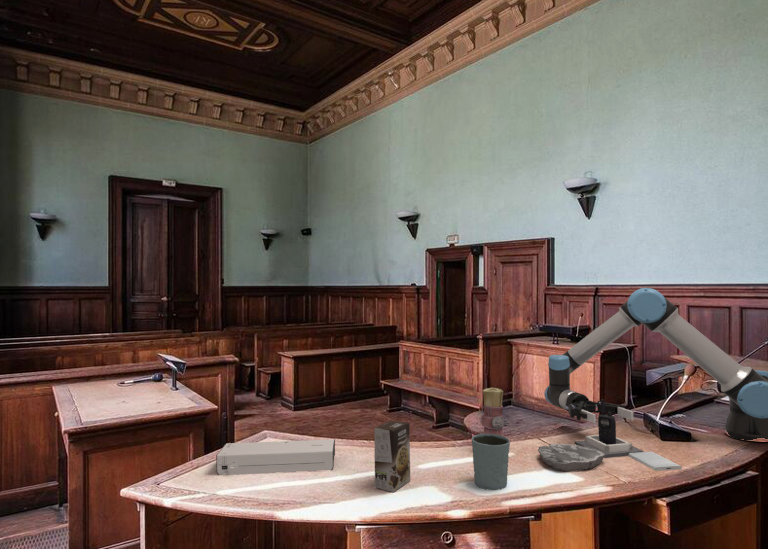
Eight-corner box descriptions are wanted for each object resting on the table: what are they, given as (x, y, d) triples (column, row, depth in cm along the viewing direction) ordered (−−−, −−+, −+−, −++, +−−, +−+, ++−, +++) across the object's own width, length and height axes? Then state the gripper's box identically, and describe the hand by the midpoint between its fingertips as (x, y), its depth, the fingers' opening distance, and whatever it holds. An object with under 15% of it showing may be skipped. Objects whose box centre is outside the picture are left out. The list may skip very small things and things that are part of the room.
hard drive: (628, 452, 151) (655, 466, 139) (652, 451, 152) (681, 465, 140) (628, 458, 151) (655, 472, 139) (652, 456, 152) (681, 470, 140)
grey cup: (470, 476, 137) (469, 433, 137) (506, 476, 137) (505, 433, 137) (475, 491, 127) (474, 445, 127) (514, 491, 126) (513, 444, 127)
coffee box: (394, 493, 127) (393, 430, 127) (374, 488, 130) (373, 427, 131) (411, 481, 134) (410, 422, 135) (391, 476, 138) (390, 419, 138)
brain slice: (568, 449, 159) (568, 440, 159) (613, 465, 144) (613, 455, 144) (522, 459, 150) (522, 450, 151) (565, 478, 135) (565, 467, 135)
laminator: (335, 458, 155) (334, 439, 155) (333, 473, 142) (333, 451, 143) (226, 462, 153) (226, 443, 153) (215, 478, 140) (215, 456, 140)
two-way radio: (596, 445, 159) (595, 399, 159) (603, 442, 162) (601, 396, 162) (614, 449, 155) (612, 401, 155) (620, 446, 158) (618, 399, 158)
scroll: (480, 455, 154) (479, 391, 155) (480, 447, 162) (478, 387, 162) (505, 456, 153) (503, 392, 154) (503, 448, 160) (502, 387, 161)
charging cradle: (614, 440, 166) (613, 431, 166) (643, 454, 153) (643, 444, 153) (574, 444, 163) (574, 435, 163) (601, 458, 150) (600, 448, 150)
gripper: (605, 410, 178) (648, 426, 157) (543, 415, 173) (578, 432, 152) (605, 390, 178) (647, 403, 158) (542, 394, 173) (578, 408, 153)
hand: (613, 417), depth 155 cm, fingers open, 13 cm apart
